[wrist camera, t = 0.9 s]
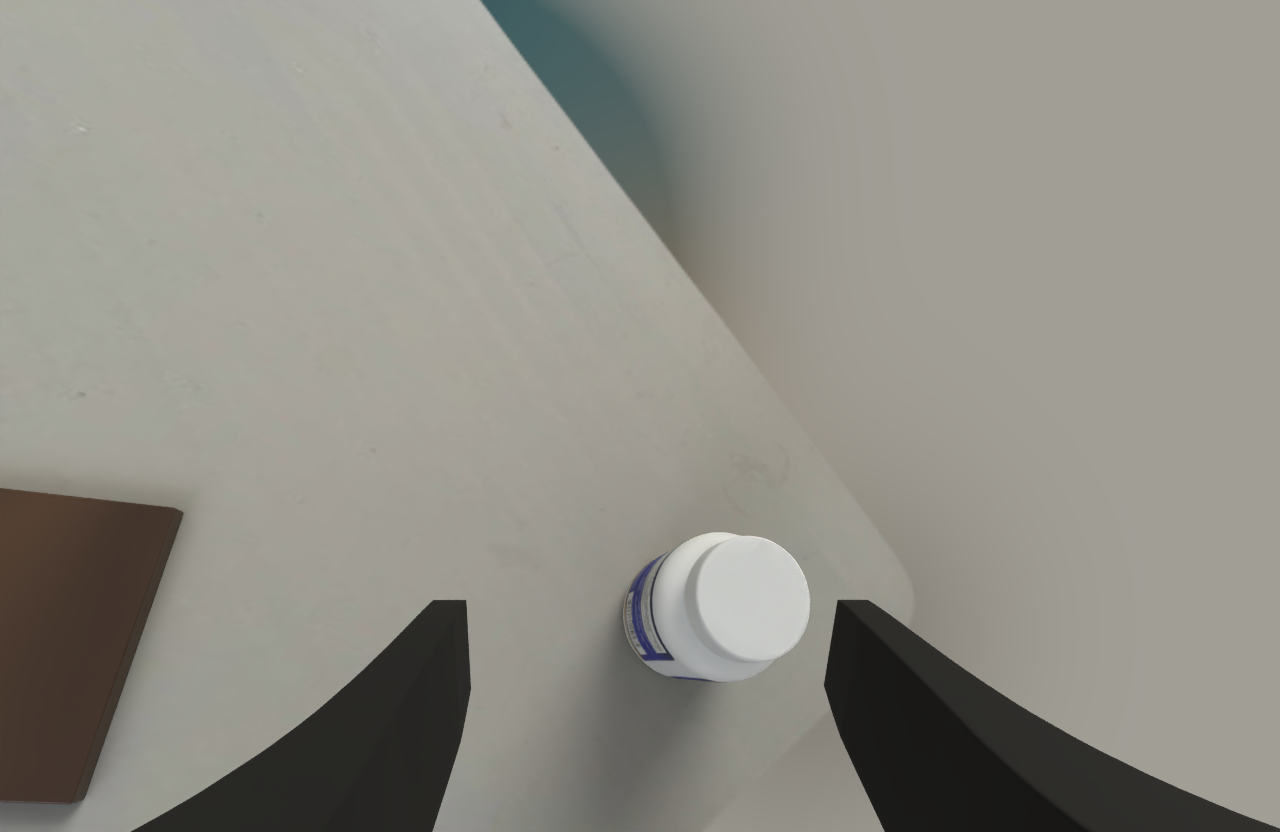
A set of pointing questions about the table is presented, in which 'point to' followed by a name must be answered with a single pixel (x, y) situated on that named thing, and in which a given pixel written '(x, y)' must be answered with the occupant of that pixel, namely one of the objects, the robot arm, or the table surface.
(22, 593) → the corner board
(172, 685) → the table surface
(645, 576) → the pill bottle
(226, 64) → the table surface
